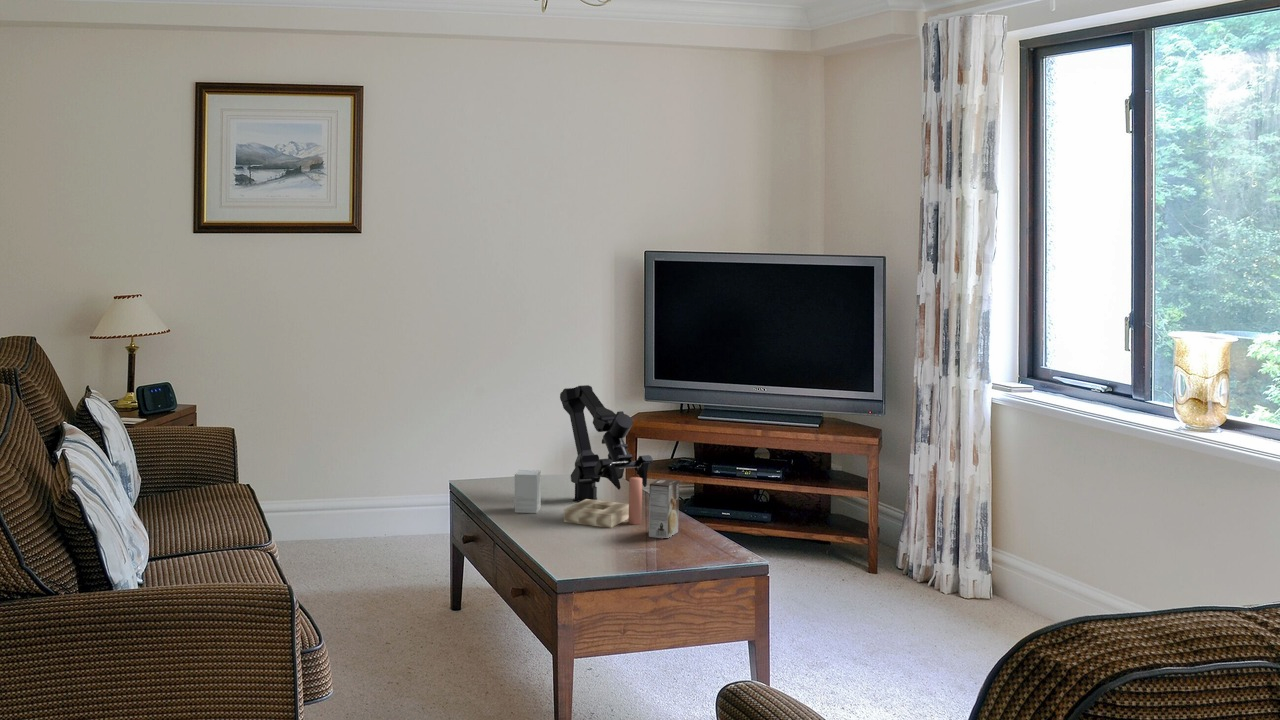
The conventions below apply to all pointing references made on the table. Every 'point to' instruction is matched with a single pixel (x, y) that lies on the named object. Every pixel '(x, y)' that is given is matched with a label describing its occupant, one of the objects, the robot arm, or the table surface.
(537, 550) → the table surface
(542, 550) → the table surface
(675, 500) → the white food box
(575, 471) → the robot arm
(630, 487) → the peg
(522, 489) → the supplement box
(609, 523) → the socket board
